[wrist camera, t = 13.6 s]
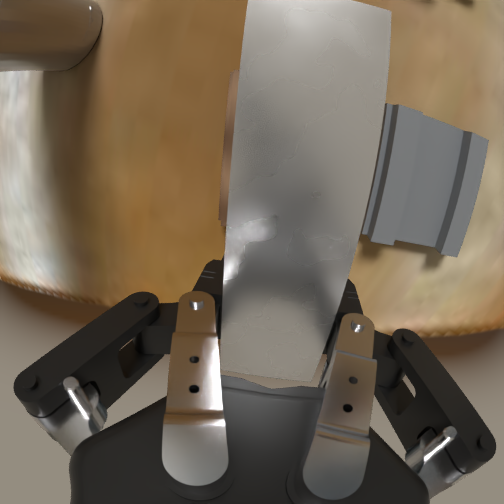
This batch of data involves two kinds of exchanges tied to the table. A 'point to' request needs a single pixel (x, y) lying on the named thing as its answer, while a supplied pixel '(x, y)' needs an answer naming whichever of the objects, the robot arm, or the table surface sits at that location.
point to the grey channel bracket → (423, 181)
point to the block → (299, 177)
